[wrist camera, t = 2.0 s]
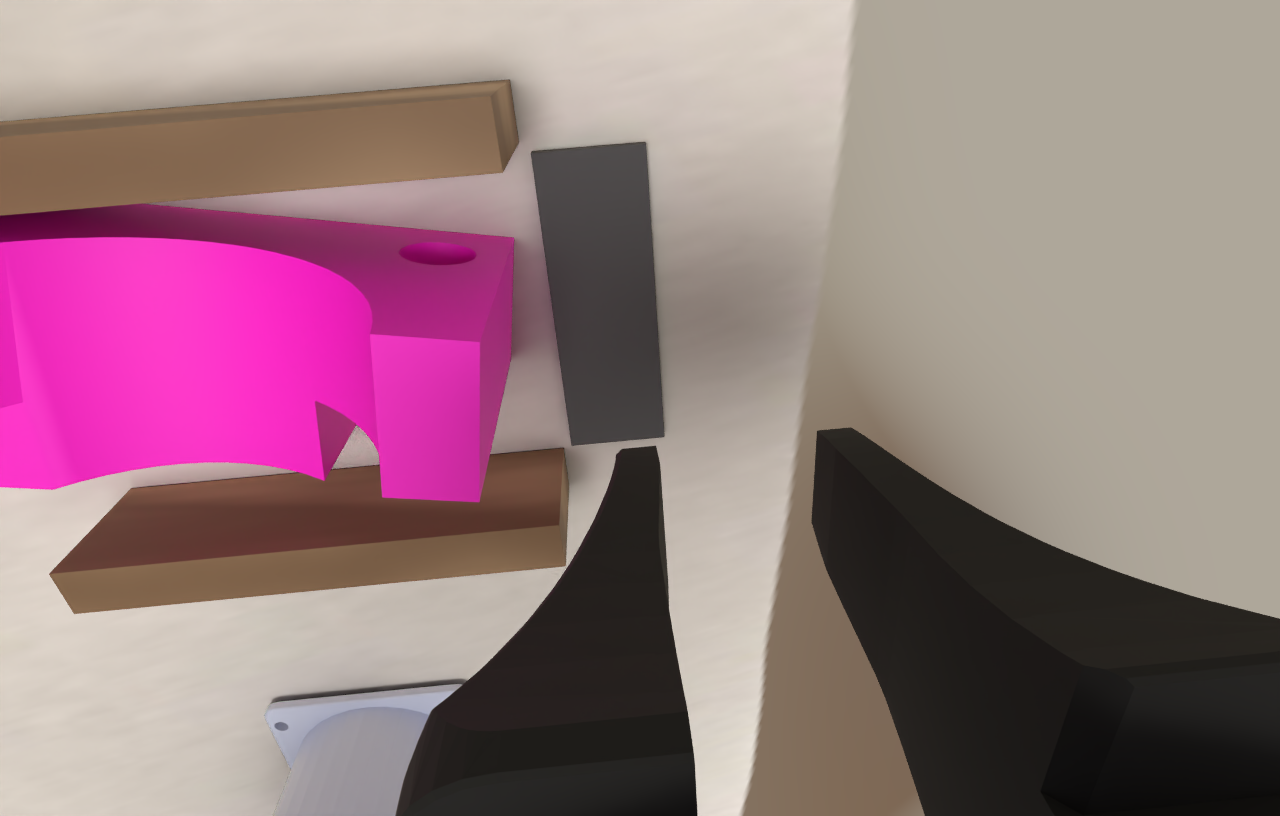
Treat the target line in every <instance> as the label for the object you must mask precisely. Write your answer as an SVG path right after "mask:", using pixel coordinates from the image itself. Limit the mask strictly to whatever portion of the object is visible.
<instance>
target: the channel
mask: <svg viewBox="0 0 1280 816" xmlns="http://www.w3.org/2000/svg"><path fill="white" fill-rule="evenodd" d="M518 143H519V140H518V133H517V126H516V119H515V112H514V105H513V99H512V92H511V85H510V80H499V81H487V82H475V83H463V84H451V85H439V86H427V87H415V88H403V89H390V90H378V91H366V92H354V93H342V94H330V95H318V96H306V97H294V98H282V99H270V100H258V101H245V102H233V103H221V104H209V105H197V106H185V107H173V108H161V109H149V110H137V111H125V112H113V113H101V114H88V115H76V116H64V117H52V118H40V119H28V120H16V121H4V122H0V216H1V215H13V214H25V213H36V212H48V211H60V210H71V209H83V208H95V207H107V206H118V205H130V204H142V203H153V202H165V201H177V200H188V199H200V198H212V197H224V196H235V195H247V194H259V193H270V192H282V191H294V190H305V189H317V188H329V187H341V186H352V185H364V184H376V183H387V182H399V181H411V180H422V179H434V178H446V177H458V176H469V175H481V174H493V173H503V171H504V169H505V168H506V166H507V164H508V162H509V160H510V158H511V156H512V154H513V153H514V151H515V149H516V147H517V145H518ZM568 500H569V482H568V475H567V468H566V461H565V454H564V448H560V449H549V450H538V451H527V452H517V453H506V454H495V455H490V456H489V461H488V465H487V470H486V475H485V479H484V484H483V488H482V493H481V497H480V502H463V501H443V500H423V499H402V498H382V487H381V474H380V465H378V466H367V467H357V468H346V469H335V470H330V472H329V474H328V476H327V478H326V479H325V481H323V480H321V479H318V478H315V477H312V476H310V475H307V474H303V473H293V474H282V475H271V476H261V477H250V478H239V479H229V480H218V481H207V482H196V483H186V484H175V485H164V486H154V487H143V488H132V489H130V490H129V491H128V492H127V493H126V494H125V495H124V496H123V498H122V499H121V500H120V501H119V502H118V503H117V504H116V505H115V506H114V507H113V508H112V509H111V510H110V511H109V512H108V513H107V514H106V515H105V516H104V517H103V518H102V519H101V520H100V522H99V523H98V524H97V525H96V526H95V527H94V528H93V529H92V530H91V531H90V532H89V533H88V534H87V535H86V536H85V537H84V538H83V539H82V540H81V541H80V542H79V543H78V544H77V545H76V547H75V548H74V549H73V550H72V551H71V552H70V553H69V554H68V555H67V556H66V557H65V558H64V559H63V560H62V561H61V562H60V563H59V564H58V565H57V566H56V567H55V568H54V569H53V570H52V572H51V573H50V574H49V575H50V576H51V578H52V580H53V581H54V583H55V584H56V586H57V587H58V589H59V591H60V592H61V594H62V595H63V597H64V598H65V600H66V602H67V603H68V605H69V606H70V608H71V610H72V611H73V613H74V614H78V613H89V612H99V611H109V610H120V609H130V608H140V607H151V606H161V605H171V604H181V603H192V602H202V601H212V600H223V599H233V598H243V597H254V596H264V595H274V594H284V593H295V592H305V591H315V590H326V589H336V588H346V587H357V586H367V585H377V584H387V583H398V582H408V581H418V580H429V579H439V578H449V577H459V576H470V575H480V574H490V573H501V572H511V571H521V570H532V569H542V568H552V567H562V566H566V548H567V524H568Z"/></svg>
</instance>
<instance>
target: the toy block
mask: <svg viewBox="0 0 1280 816" xmlns="http://www.w3.org/2000/svg"><path fill="white" fill-rule="evenodd" d="M513 260H514V238H512V237H501V236H490V235H479V234H468V233H457V232H446V231H435V230H424V229H413V228H402V227H391V226H380V225H369V224H358V223H347V222H336V221H325V220H314V219H303V218H292V217H281V216H270V215H259V214H248V213H237V212H226V211H215V210H204V209H193V208H182V207H171V206H160V205H149V204H130V205H118V206H107V207H95V208H83V209H71V210H60V211H48V212H36V213H25V214H13V215H1V216H0V487H9V488H30V489H51V490H53V489H57V488H60V487H64V486H67V485H71V484H74V483H77V482H81V481H85V480H89V479H93V478H97V477H101V476H105V475H110V474H115V473H120V472H125V471H130V470H136V469H143V468H149V467H156V466H165V465H174V464H186V463H204V462H229V463H248V464H257V465H266V466H272V467H278V468H283V469H288V470H292V471H296V472H300V473H303V474H307V475H310V476H312V477H315V478H318V479H321V480H323V481H325V479H326V478H327V476H328V474H329V472H330V470H331V469H332V467H333V465H334V463H335V462H336V460H337V458H338V456H339V454H340V453H341V451H342V449H343V447H344V446H345V444H346V442H347V440H348V438H349V437H350V435H351V433H352V431H353V430H354V428H355V426H356V424H357V425H358V426H359V427H360V428H361V429H362V430H363V431H364V432H365V433H366V434H367V435H368V437H369V438H370V439H371V441H372V442H373V443H374V445H375V447H376V449H377V451H378V453H379V461H380V474H381V487H382V498H402V499H423V500H443V501H463V502H480V497H481V493H482V488H483V484H484V479H485V475H486V470H487V465H488V461H489V456H490V452H491V447H492V443H493V438H494V434H495V429H496V425H497V420H498V416H499V411H500V406H501V402H502V397H503V393H504V388H505V384H506V379H507V375H508V370H509V366H510V361H511V337H512V298H513Z"/></svg>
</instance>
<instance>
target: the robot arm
mask: <svg viewBox="0 0 1280 816" xmlns="http://www.w3.org/2000/svg"><path fill="white" fill-rule="evenodd" d="M812 525H813V528H814V531H815V535H816V538H817V542H818V545H819V548H820V551H821V554H822V557H823V561H824V564H825V567H826V570H827V572H828V574H829V576H830V579H831V580H832V583H833V585H834V587H835V589H836V592H837V594H838V596H839V598H840V600H841V602H842V605H843V607H844V609H845V611H846V613H847V615H848V617H849V619H850V621H851V624H852V626H853V628H854V630H855V632H856V634H857V636H858V638H859V640H860V642H861V645H862V647H863V649H864V651H865V653H866V655H867V657H868V660H869V661H870V664H871V666H872V668H873V670H874V672H875V674H876V677H877V679H878V682H879V684H880V686H881V688H882V691H883V694H884V696H885V698H886V701H887V704H888V707H889V710H890V713H891V715H892V718H893V721H894V724H895V727H896V730H897V733H898V735H899V738H900V741H901V744H902V747H903V750H904V753H905V756H906V759H907V762H908V765H909V768H910V771H911V774H912V777H913V780H914V783H915V786H916V789H917V792H918V796H919V799H920V802H921V805H922V807H923V811H924V814H925V816H1280V619H1278V618H1274V617H1270V616H1267V615H1262V614H1259V613H1255V612H1251V611H1247V610H1243V609H1239V608H1235V607H1231V606H1228V605H1224V604H1220V603H1216V602H1211V601H1208V600H1204V599H1201V598H1197V597H1194V596H1190V595H1187V594H1184V593H1181V592H1177V591H1174V590H1171V589H1168V588H1164V587H1162V586H1158V585H1155V584H1152V583H1149V582H1146V581H1143V580H1140V579H1137V578H1134V577H1131V576H1128V575H1125V574H1122V573H1120V572H1117V571H1114V570H1111V569H1108V568H1106V567H1103V566H1101V565H1098V564H1096V563H1093V562H1091V561H1088V560H1086V559H1083V558H1080V557H1078V556H1075V555H1073V554H1070V553H1068V552H1065V551H1063V550H1061V549H1058V548H1056V547H1054V546H1051V545H1049V544H1047V543H1045V542H1042V541H1040V540H1038V539H1036V538H1034V537H1032V536H1030V535H1027V534H1026V533H1024V532H1021V531H1019V530H1017V529H1015V528H1013V527H1011V526H1009V525H1007V524H1005V523H1003V522H1001V521H999V520H997V519H995V518H993V517H992V516H989V515H988V514H986V513H984V512H982V511H981V510H979V509H977V508H975V507H974V506H972V505H970V504H969V503H967V502H965V501H963V500H962V499H960V498H958V497H956V496H955V495H953V494H951V493H949V492H948V491H946V490H945V489H943V488H942V487H940V486H938V485H937V484H935V483H934V482H932V481H931V480H929V479H927V478H926V477H924V476H923V475H921V474H920V473H918V472H917V471H915V470H914V469H912V468H911V467H909V466H908V465H906V464H905V463H903V462H902V461H900V460H899V459H897V458H896V457H895V456H893V455H892V454H890V453H889V452H887V451H886V450H884V449H883V448H881V447H880V446H878V445H877V444H876V443H874V442H873V441H871V440H870V439H868V438H867V437H865V436H864V435H862V434H861V433H859V432H858V431H856V430H854V429H853V428H842V429H830V430H820V431H817V441H816V458H815V475H814V491H813V507H812ZM264 716H265V719H266V721H267V723H268V725H269V727H270V729H271V731H272V733H273V735H274V737H275V739H276V741H277V743H278V745H279V747H280V749H281V751H282V753H283V755H284V757H285V759H286V761H287V763H288V765H289V767H290V769H291V771H290V774H289V776H288V779H287V781H286V784H285V786H284V789H283V792H282V794H281V797H280V799H279V802H278V804H277V807H276V809H275V812H274V814H273V816H697V799H696V780H695V762H694V753H693V745H692V738H691V731H690V724H689V717H688V711H687V706H686V701H685V696H684V691H683V686H682V680H681V675H680V670H679V664H678V659H677V654H676V648H675V642H674V636H673V631H672V625H671V619H670V613H669V595H668V574H667V559H666V544H665V530H664V515H663V500H662V486H661V471H660V462H659V457H658V453H657V448H656V446H649V447H639V448H628V449H622V450H621V451H620V452H619V453H618V454H617V455H616V461H615V466H614V470H613V474H612V477H611V480H610V483H609V486H608V488H607V491H606V494H605V496H604V498H603V501H602V503H601V505H600V508H599V510H598V512H597V515H596V517H595V519H594V521H593V523H592V525H591V527H590V529H589V531H588V533H587V534H586V536H585V538H584V540H583V542H582V544H581V546H580V547H579V549H578V551H577V553H576V554H575V556H574V558H573V559H572V561H571V563H570V564H569V566H568V567H567V569H566V570H565V572H564V574H563V575H562V576H561V578H560V579H559V581H558V582H557V584H556V585H555V587H554V588H553V589H552V591H551V592H550V593H549V595H548V596H547V597H546V598H545V600H544V601H543V602H542V604H541V605H540V606H539V607H538V609H537V610H536V611H535V613H534V614H533V615H532V616H531V617H530V619H529V620H528V621H527V622H526V623H525V624H524V626H523V627H522V628H521V629H520V630H519V631H518V632H517V633H516V634H515V635H514V636H513V637H512V638H511V639H510V640H509V641H508V642H507V643H506V645H505V646H504V647H503V648H502V649H501V650H500V651H499V652H498V653H497V654H496V655H495V656H494V657H493V658H492V659H491V660H490V661H489V662H488V663H487V664H486V665H485V666H484V667H483V668H482V669H481V670H480V671H478V672H477V673H476V674H475V675H474V676H473V677H471V678H470V679H469V680H468V681H467V682H465V683H464V684H463V685H462V684H450V685H440V686H430V687H420V688H410V689H400V690H390V691H380V692H370V693H360V694H350V695H340V696H330V697H320V698H310V699H300V700H290V701H280V702H275V703H272V704H270V705H269V706H268V708H267V710H266V712H265V715H264Z"/></svg>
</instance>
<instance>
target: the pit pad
mask: <svg viewBox="0 0 1280 816" xmlns="http://www.w3.org/2000/svg"><path fill="white" fill-rule="evenodd" d="M531 157H532V165H533V172H534V179H535V186H536V193H537V200H538V208H539V215H540V222H541V229H542V236H543V244H544V251H545V258H546V265H547V272H548V279H549V287H550V294H551V301H552V308H553V315H554V322H555V330H556V337H557V344H558V351H559V358H560V366H561V373H562V380H563V387H564V394H565V401H566V409H567V416H568V423H569V430H570V437H571V444H572V446H574V445H584V444H595V443H606V442H617V441H627V440H638V439H649V438H659V437H664V422H663V406H662V390H661V374H660V358H659V343H658V327H657V311H656V295H655V279H654V263H653V247H652V232H651V216H650V200H649V184H648V168H647V152H646V143H645V142H638V143H626V144H614V145H602V146H590V147H579V148H567V149H555V150H543V151H532V152H531Z"/></svg>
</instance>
